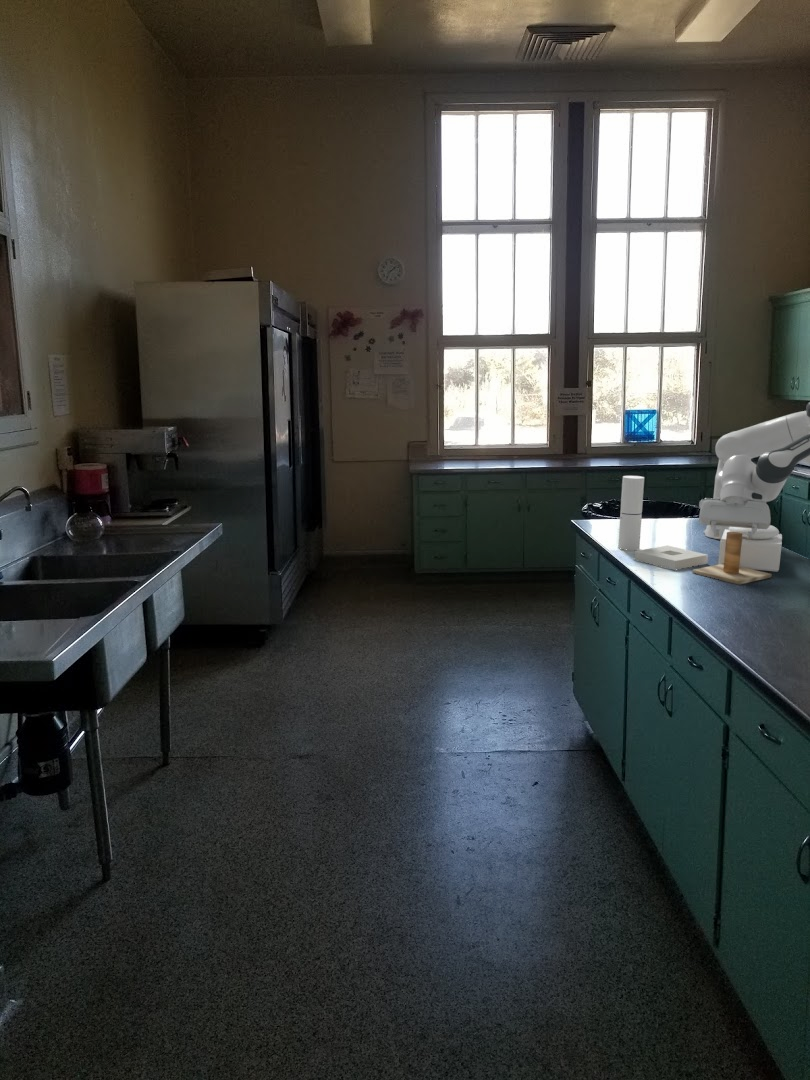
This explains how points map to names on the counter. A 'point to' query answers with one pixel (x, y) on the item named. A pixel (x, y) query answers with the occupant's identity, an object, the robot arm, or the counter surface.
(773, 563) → the butter dish
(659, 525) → the counter surface
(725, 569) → the plug
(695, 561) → the socket block
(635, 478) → the cylindrical container
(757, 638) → the counter surface
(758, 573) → the board
